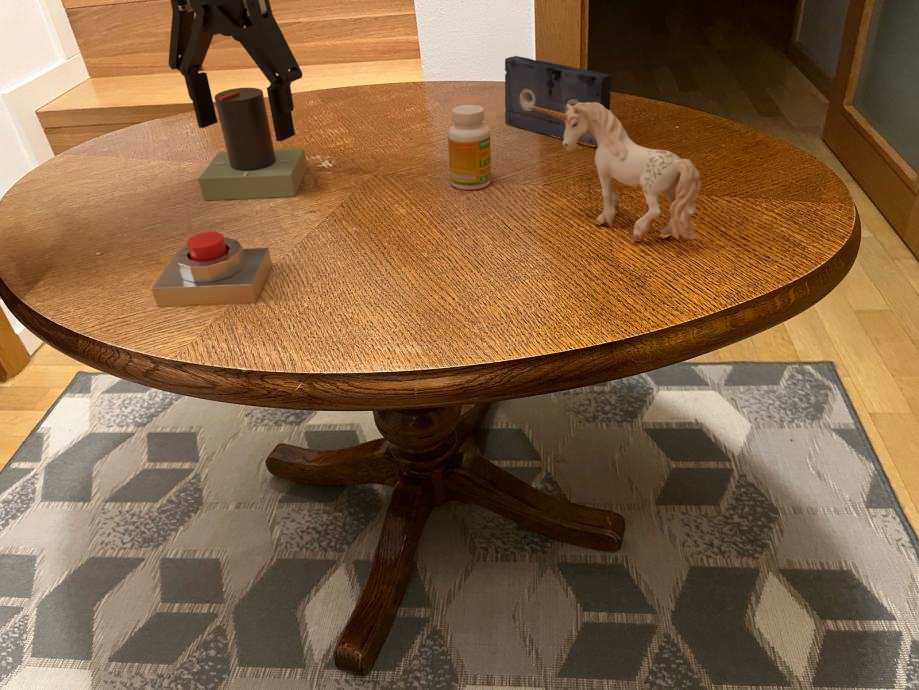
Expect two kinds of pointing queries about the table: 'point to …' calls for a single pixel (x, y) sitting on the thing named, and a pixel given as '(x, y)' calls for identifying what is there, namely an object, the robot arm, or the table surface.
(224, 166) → the dial panel
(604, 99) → the vhs cassette tape
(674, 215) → the unicorn figurine
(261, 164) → the dial
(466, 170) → the supplement bottle
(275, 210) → the table surface
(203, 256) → the button
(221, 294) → the button box
